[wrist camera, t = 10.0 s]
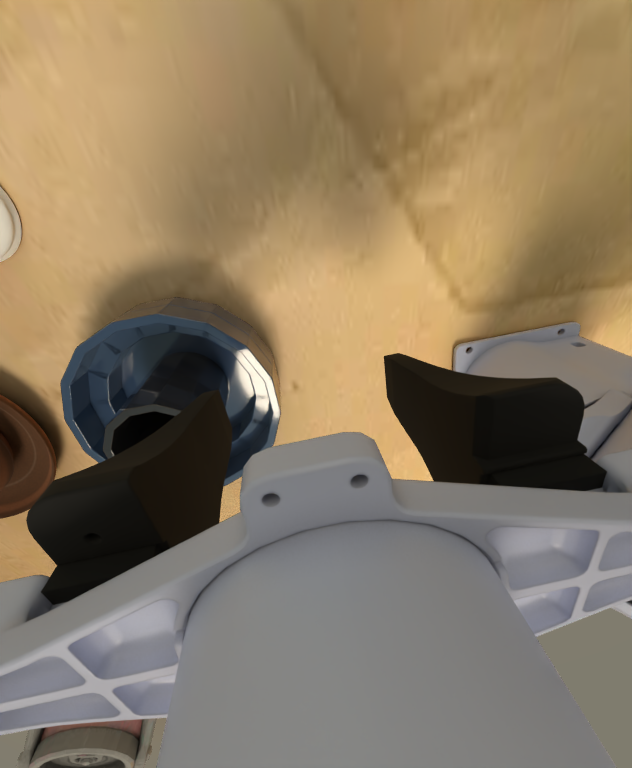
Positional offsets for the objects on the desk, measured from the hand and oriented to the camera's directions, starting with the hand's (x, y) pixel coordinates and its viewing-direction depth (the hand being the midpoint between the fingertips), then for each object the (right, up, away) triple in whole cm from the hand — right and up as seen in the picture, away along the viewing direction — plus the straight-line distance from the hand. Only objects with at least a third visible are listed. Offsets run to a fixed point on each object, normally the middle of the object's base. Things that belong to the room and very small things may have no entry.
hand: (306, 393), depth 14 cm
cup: (-8, 0, +9) cm, 12 cm away
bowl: (-8, +1, +9) cm, 12 cm away
